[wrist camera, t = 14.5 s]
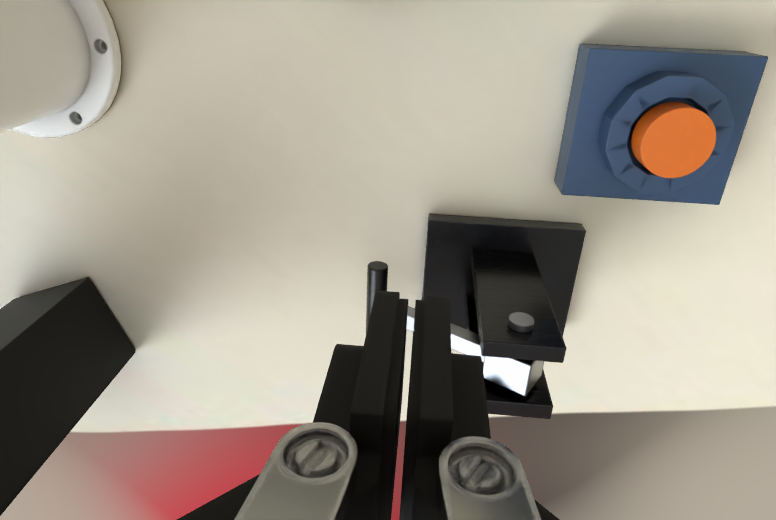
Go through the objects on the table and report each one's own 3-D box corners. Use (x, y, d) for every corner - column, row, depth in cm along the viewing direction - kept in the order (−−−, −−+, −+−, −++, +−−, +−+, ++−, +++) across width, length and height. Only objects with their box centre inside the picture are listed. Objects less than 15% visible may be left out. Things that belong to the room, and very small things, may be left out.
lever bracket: (420, 317, 44) (413, 433, 33) (428, 213, 40) (424, 304, 29) (559, 328, 43) (601, 450, 32) (581, 223, 39) (639, 321, 28)
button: (623, 167, 33) (632, 176, 32) (640, 99, 31) (650, 105, 30) (691, 171, 33) (704, 180, 31) (712, 103, 31) (726, 109, 30)
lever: (377, 330, 40) (357, 345, 38) (380, 256, 37) (358, 269, 35) (536, 400, 33) (520, 423, 32) (553, 317, 31) (537, 337, 29)
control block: (553, 181, 38) (567, 204, 34) (579, 43, 34) (597, 51, 30) (701, 191, 38) (732, 215, 34) (745, 51, 33) (786, 60, 29)
